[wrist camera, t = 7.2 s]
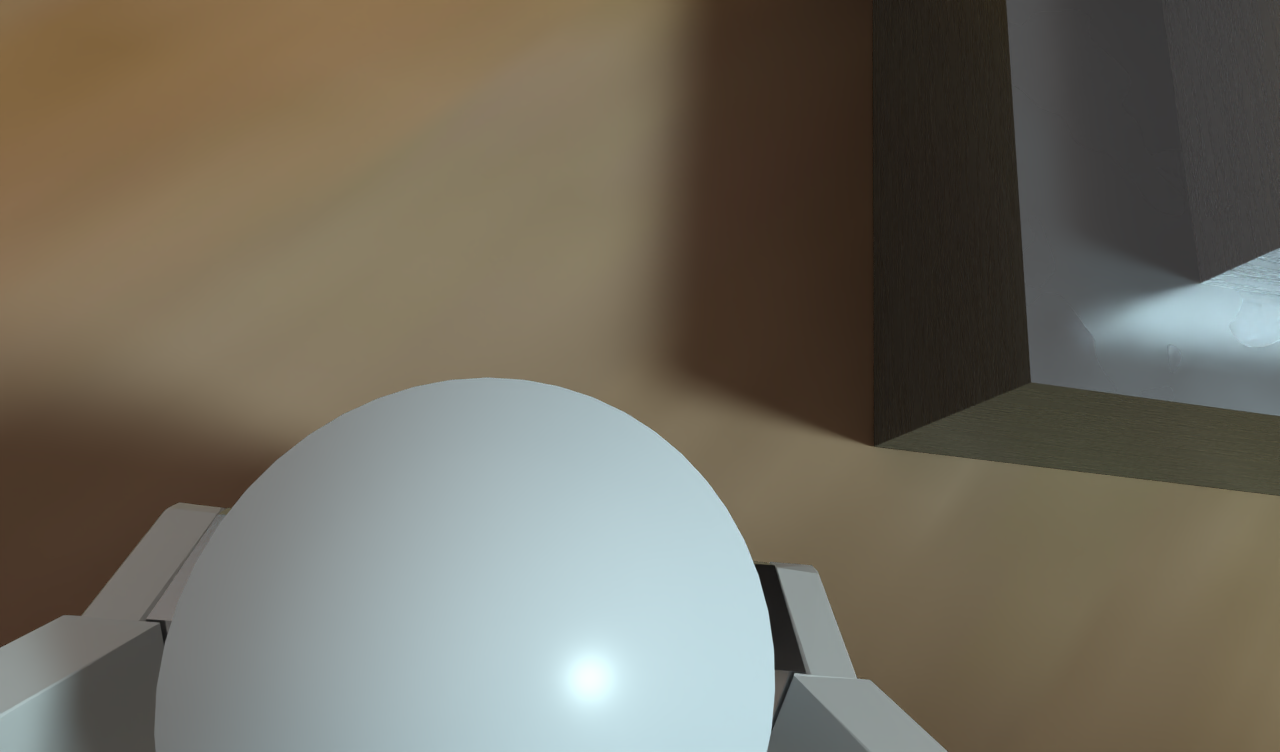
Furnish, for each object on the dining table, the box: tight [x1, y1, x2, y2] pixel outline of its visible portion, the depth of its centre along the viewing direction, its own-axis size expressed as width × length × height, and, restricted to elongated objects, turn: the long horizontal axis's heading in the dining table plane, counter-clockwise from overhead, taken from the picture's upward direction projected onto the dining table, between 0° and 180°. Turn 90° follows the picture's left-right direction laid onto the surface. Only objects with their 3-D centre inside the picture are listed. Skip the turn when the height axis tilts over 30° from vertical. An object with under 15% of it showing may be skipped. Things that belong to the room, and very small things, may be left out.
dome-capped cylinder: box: [154, 378, 775, 752], centre depth 9 cm, size 4×4×9 cm
